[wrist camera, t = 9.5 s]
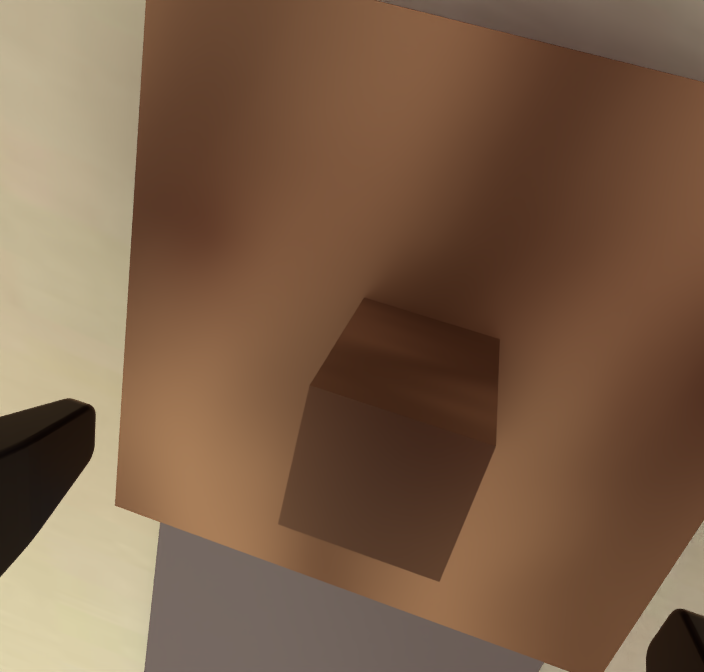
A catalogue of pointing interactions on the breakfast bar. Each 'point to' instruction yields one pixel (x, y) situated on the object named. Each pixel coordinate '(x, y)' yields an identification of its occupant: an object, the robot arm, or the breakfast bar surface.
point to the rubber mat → (290, 621)
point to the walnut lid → (419, 313)
